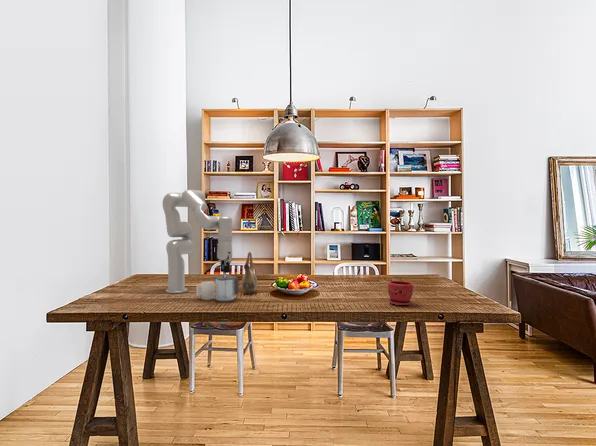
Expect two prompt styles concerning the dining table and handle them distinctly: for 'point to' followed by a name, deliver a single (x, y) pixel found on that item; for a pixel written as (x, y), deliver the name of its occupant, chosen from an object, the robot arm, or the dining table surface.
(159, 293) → the dining table surface
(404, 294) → the plant pot
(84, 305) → the dining table surface
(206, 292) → the mug
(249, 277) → the ceramic vessel
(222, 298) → the press carafe
